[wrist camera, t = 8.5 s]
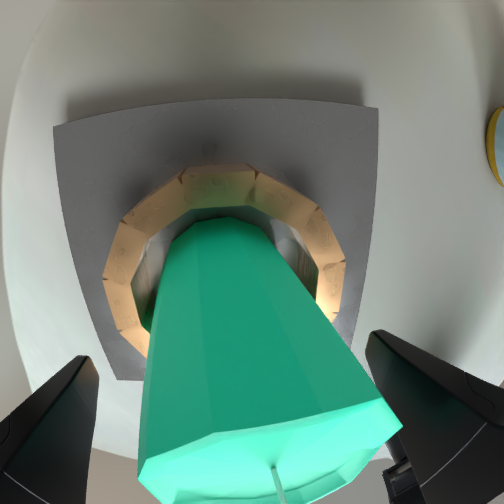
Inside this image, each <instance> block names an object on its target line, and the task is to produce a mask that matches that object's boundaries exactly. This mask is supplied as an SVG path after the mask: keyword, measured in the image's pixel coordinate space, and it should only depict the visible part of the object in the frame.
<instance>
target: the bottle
mask: <svg viewBox="0 0 504 504" xmlns="http://www.w3.org/2000/svg"><path fill="white" fill-rule="evenodd" d="M486 149H487V157H488V161H489V165H490V168H491V170H492V172H493V174H494V176H495V178H496V179H497V181H498V183H500V184H501V185H502V186H503V187H504V106H503V107H499V108H498V109H497V110H496V111H495V113H494V114H493V115H492V117H491V119H490V121H489V123H488V128H487V134H486Z"/></svg>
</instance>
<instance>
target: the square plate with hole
mask: <svg viewBox="0 0 504 504" xmlns="http://www.w3.org/2000/svg"><path fill="white" fill-rule="evenodd" d="M53 136H54V151H55V162H56V171H57V180H58V187H59V194H60V200H61V206H62V212H63V217H64V222H65V227H66V232H67V236H68V241H69V245H70V249H71V253H72V257H73V261H74V265H75V269H76V272H77V276H78V279H79V283H80V286H81V289H82V292H83V295H84V299H85V302H86V305H87V307H88V310H89V313H90V316H91V319H92V322H93V324H94V327H95V330H96V332H97V335H98V337H99V340H100V342H101V345H102V347H103V350H104V352H105V354H106V357H107V359H108V361H109V363H110V366H111V368H112V370H113V372H114V374H115V377H116V379H117V380H132V381H144V377H145V369H146V361H147V353H148V346H149V340H150V333H151V327H152V321H153V315H154V309H155V303H156V298H157V292H158V287H159V282H160V277H161V272H162V269H163V266H164V263H165V259H166V256H167V253H168V250H169V247H170V244H171V243H172V242H173V241H174V240H175V239H177V238H178V237H179V236H180V235H181V234H182V233H184V232H185V231H186V230H187V229H188V228H190V227H191V226H192V225H193V224H194V223H196V222H200V221H206V220H212V219H217V218H223V217H229V216H230V217H233V218H235V219H238V220H241V221H244V222H246V223H249V224H252V225H254V226H257V227H260V228H261V230H262V231H263V232H264V233H265V235H266V236H267V237H268V239H269V240H270V241H271V242H272V244H273V245H274V246H275V248H276V249H277V250H278V251H279V253H280V254H281V255H282V257H283V258H284V260H285V261H286V262H287V264H288V265H289V266H290V268H291V269H292V270H293V272H294V273H295V274H296V276H297V277H298V278H299V280H300V281H301V282H302V284H303V285H304V287H305V288H306V289H307V291H308V292H309V293H310V295H311V296H312V297H313V299H314V300H315V302H316V303H317V304H318V306H319V307H320V308H321V310H322V311H323V313H324V314H325V315H326V317H327V318H328V319H329V321H330V322H331V324H332V325H333V326H334V328H335V329H336V331H337V332H338V333H339V335H340V336H341V338H342V339H343V340H344V342H345V343H346V345H347V346H348V347H349V349H350V348H351V344H352V339H353V335H354V331H355V326H356V322H357V317H358V312H359V307H360V302H361V297H362V292H363V286H364V281H365V275H366V269H367V262H368V255H369V248H370V241H371V233H372V224H373V215H374V205H375V193H376V179H377V161H378V108H372V107H366V106H359V105H352V104H344V103H335V102H326V101H314V100H300V99H279V98H230V99H209V100H195V101H183V102H174V103H165V104H157V105H150V106H143V107H137V108H131V109H125V110H120V111H115V112H110V113H105V114H100V115H96V116H91V117H87V118H83V119H79V120H75V121H72V122H68V123H64V124H61V125H57V126H54V127H53Z"/></svg>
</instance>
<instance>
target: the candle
mask: <svg viewBox="0 0 504 504" xmlns="http://www.w3.org/2000/svg"><path fill="white" fill-rule="evenodd" d="M402 427H403V425H402V424H401V422H400V421H399V419H398V418H397V416H396V415H395V413H394V412H393V411H392V409H391V408H390V406H389V405H388V403H387V402H386V400H385V399H384V397H383V396H382V395H381V393H380V392H379V390H378V389H377V387H376V386H375V384H374V383H373V382H372V380H371V379H370V377H369V376H368V374H367V373H366V371H365V370H364V369H363V367H362V366H361V364H360V363H359V362H358V360H357V359H356V357H355V356H354V354H353V353H352V352H351V350H350V349H349V347H348V346H347V345H346V343H345V342H344V340H343V339H342V338H341V336H340V335H339V333H338V332H337V331H336V329H335V328H334V326H333V325H332V324H331V322H330V321H329V319H328V318H327V317H326V315H325V314H324V313H323V311H322V310H321V308H320V307H319V306H318V304H317V303H316V302H315V300H314V299H313V297H312V296H311V295H310V293H309V292H308V291H307V289H306V288H305V287H304V285H303V284H302V282H301V281H300V280H299V278H298V277H297V276H296V274H295V273H294V272H293V270H292V269H291V268H290V266H289V265H288V264H287V262H286V261H285V260H284V258H283V257H282V255H281V254H280V253H279V251H278V250H277V249H276V248H275V246H274V245H273V244H272V242H271V241H270V240H269V239H268V237H267V236H266V235H265V233H264V232H263V231H262V230H261V228H260V227H257V226H254V225H252V224H249V223H246V222H244V221H241V220H238V219H235V218H233V217H230V216H229V217H223V218H217V219H212V220H206V221H200V222H196V223H194V224H193V225H192V226H191V227H190V228H188V229H187V230H186V231H185V232H184V233H182V234H181V235H180V236H179V237H178V238H177V239H175V240H174V241H173V242H172V243H171V244H170V247H169V250H168V253H167V256H166V259H165V263H164V266H163V269H162V272H161V277H160V282H159V287H158V292H157V298H156V303H155V309H154V315H153V321H152V327H151V333H150V340H149V346H148V353H147V361H146V369H145V377H144V386H143V395H142V406H141V417H140V431H139V448H138V481H139V482H140V483H141V484H142V485H143V486H145V488H146V489H147V490H149V492H150V493H152V494H153V495H154V496H155V497H156V498H157V499H158V500H159V501H160V502H161V503H162V504H310V503H312V502H314V501H316V500H318V499H320V498H322V497H324V496H326V495H328V494H330V493H332V492H334V491H336V490H338V489H339V488H341V487H343V486H345V485H347V484H348V483H350V482H352V481H353V480H354V478H355V477H356V476H357V475H358V474H359V473H360V472H361V470H362V469H363V468H364V467H365V466H366V464H367V463H368V462H369V461H370V459H371V458H372V457H373V456H374V454H375V453H376V452H377V451H378V449H379V448H380V447H381V445H382V444H384V443H385V442H386V441H387V440H388V439H389V438H391V437H392V436H393V435H394V434H395V433H396V432H397V431H398V430H399V429H401V428H402Z"/></svg>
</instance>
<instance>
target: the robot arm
mask: <svg viewBox="0 0 504 504" xmlns="http://www.w3.org/2000/svg"><path fill="white" fill-rule="evenodd" d="M365 356H366V359H367V362H368V365H369V367H370V370H371V373H372V376H373V379H374V382H375V384H376V387H377V389H378V390H379V392H380V393H381V395H382V396H383V397H384V399H385V400H386V402H387V403H388V405H389V406H390V408H391V409H392V411H393V412H394V413H395V415H396V416H397V418H398V419H399V421H400V422H401V424H402V425H403V427H402V428H401V429H399V430H398V431H397V432H396V433H395V434H394V435H393V436H392V437H391V438H389V439H388V440H387V441H386V442H385V444H386V446H387V448H388V450H389V452H390V454H391V456H392V458H393V460H394V462H395V464H396V465H394V466H392V467H391V468H389V469H386V470H384V471H383V475H382V476H383V478H384V481H385V484H386V488H387V491H388V498H389V503H390V504H504V389H503V388H501V387H498V386H495V385H493V384H491V383H488V382H486V381H484V380H481V379H479V378H477V377H475V376H473V375H471V374H469V373H467V372H464V371H463V370H461V369H459V368H457V367H455V366H453V365H451V364H449V363H447V362H445V361H443V360H441V359H439V358H437V357H435V356H434V355H432V354H430V353H428V352H426V351H424V350H422V349H420V348H418V347H416V346H414V345H412V344H410V343H408V342H406V341H404V340H402V339H400V338H398V337H396V336H394V335H392V334H391V333H389V332H387V331H385V330H382V329H380V330H375V331H372V332H371V333H370V334H369V338H368V341H367V345H366V348H365ZM98 387H99V374H98V372H97V370H96V368H95V366H94V364H93V362H92V360H91V358H90V357H89V356H84V355H78V356H76V357H75V358H74V359H73V360H71V361H70V362H69V363H68V364H67V365H66V366H64V367H63V368H62V369H61V370H60V371H58V372H57V373H56V374H55V375H54V376H53V377H51V378H50V379H49V380H48V381H47V382H46V383H44V384H43V385H42V386H41V387H40V388H39V389H37V390H36V391H35V392H34V393H33V394H32V395H31V396H29V397H28V398H27V399H26V400H25V401H24V402H23V403H22V404H20V405H19V406H18V407H17V408H16V409H15V410H14V411H12V412H11V413H10V415H8V416H7V417H6V418H5V419H3V421H1V422H0V504H86V503H85V502H86V489H87V478H88V468H89V460H90V453H91V446H92V439H93V433H94V427H95V421H96V410H97V398H98Z"/></svg>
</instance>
